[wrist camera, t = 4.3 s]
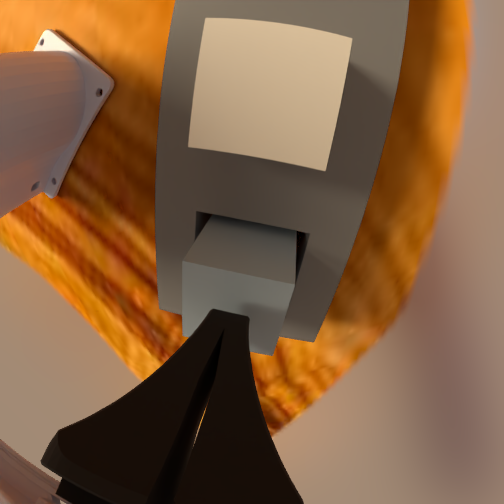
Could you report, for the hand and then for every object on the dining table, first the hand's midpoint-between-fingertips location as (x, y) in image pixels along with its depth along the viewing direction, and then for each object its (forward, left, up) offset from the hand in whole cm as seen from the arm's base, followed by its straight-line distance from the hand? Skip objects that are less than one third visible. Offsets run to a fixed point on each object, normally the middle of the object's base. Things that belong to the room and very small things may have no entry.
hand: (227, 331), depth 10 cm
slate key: (0, 0, -5) cm, 5 cm away
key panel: (+6, +5, -7) cm, 11 cm away
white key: (+6, +5, -5) cm, 10 cm away
